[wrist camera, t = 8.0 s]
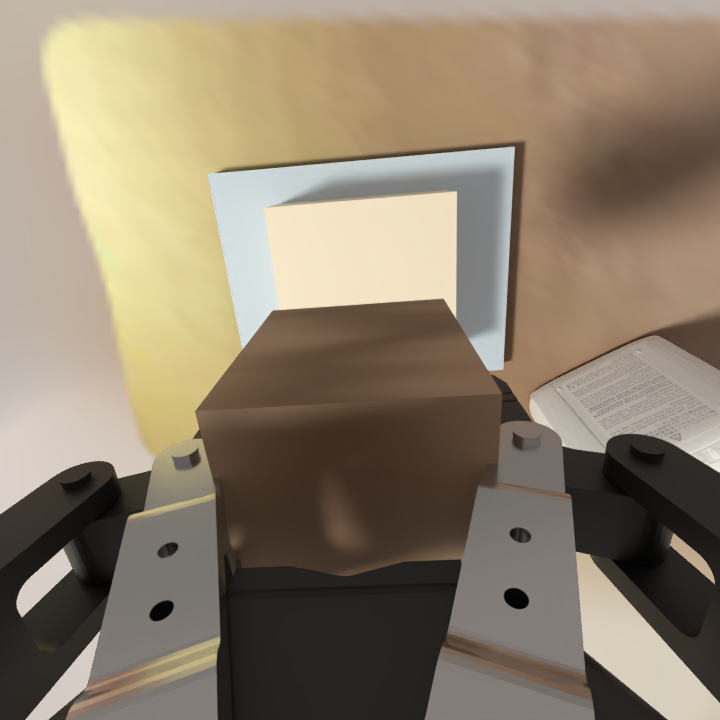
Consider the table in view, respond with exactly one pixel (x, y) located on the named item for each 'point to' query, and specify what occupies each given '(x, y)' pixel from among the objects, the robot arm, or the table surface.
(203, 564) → the robot arm
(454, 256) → the butter dish
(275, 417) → the walnut block
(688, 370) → the photo printer
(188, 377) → the table surface
